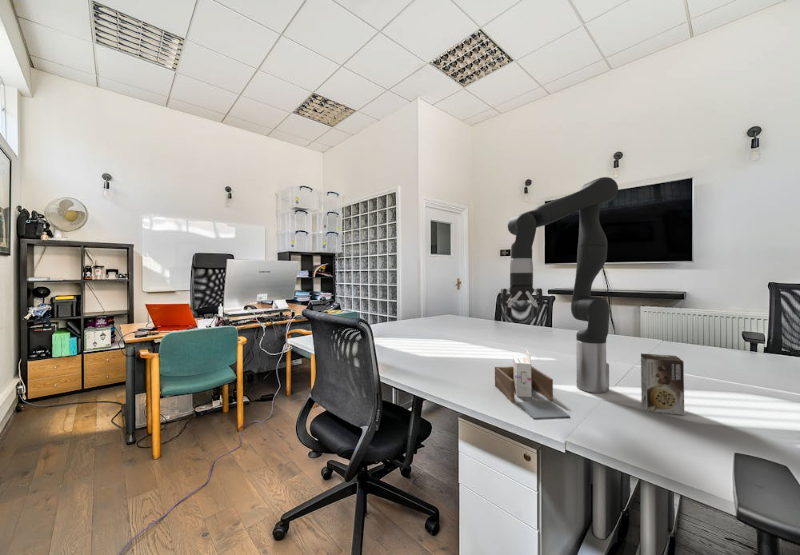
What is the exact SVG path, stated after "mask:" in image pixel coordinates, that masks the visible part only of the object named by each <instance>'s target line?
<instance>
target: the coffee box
mask: <svg viewBox="0 0 800 555" xmlns="http://www.w3.org/2000/svg"><path fill="white" fill-rule="evenodd" d="M684 365H685V364H684V360H682V359H681V358H680V357H678V356H676V355H670V354H669V355H668V354H652V353H640V378H641V380H640V383H641V385H640V388H641V394H640V395H641V397H640V398H641V404H642V406H643V407H644V409H645V410H646V411H648V412H653V411H654V412H653V413H655V412H656V413H662V414H670V415H671V414H672V415H678V416H685V384H684V382H685V376H684V375H685V374H684V372H685V370H684Z"/></svg>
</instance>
